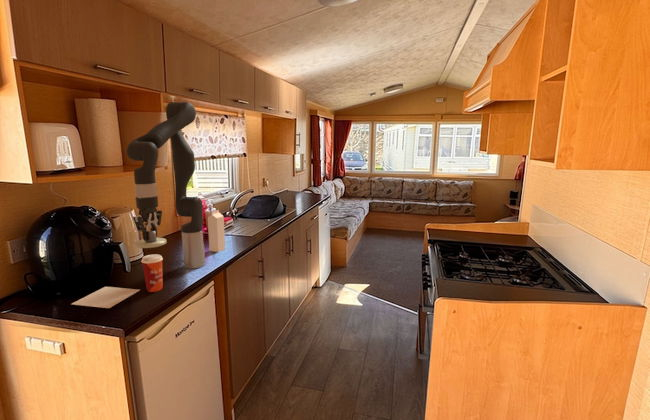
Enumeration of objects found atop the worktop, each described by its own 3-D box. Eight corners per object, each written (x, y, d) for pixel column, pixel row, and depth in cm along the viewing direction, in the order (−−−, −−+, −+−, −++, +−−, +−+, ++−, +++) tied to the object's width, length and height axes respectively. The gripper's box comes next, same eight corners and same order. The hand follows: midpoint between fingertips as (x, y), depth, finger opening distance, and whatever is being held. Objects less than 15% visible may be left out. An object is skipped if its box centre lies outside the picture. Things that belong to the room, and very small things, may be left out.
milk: (225, 249, 195) (223, 210, 190) (218, 252, 189) (216, 212, 185) (216, 248, 197) (214, 209, 193) (209, 251, 191) (207, 211, 187)
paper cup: (156, 295, 136) (152, 260, 133) (139, 293, 138) (136, 258, 135) (169, 287, 143) (167, 254, 141) (154, 285, 145) (151, 252, 143)
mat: (105, 287, 142) (105, 286, 142) (140, 291, 140) (140, 289, 139) (70, 305, 127) (70, 304, 127) (109, 309, 124) (109, 308, 124)
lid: (147, 239, 143) (146, 227, 142) (172, 240, 141) (171, 228, 140) (128, 247, 133) (127, 234, 132) (154, 248, 131) (153, 235, 130)
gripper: (150, 192, 141) (153, 233, 144) (124, 197, 127) (128, 243, 130) (167, 193, 140) (170, 234, 143) (142, 198, 126) (146, 244, 129)
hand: (150, 238), depth 137 cm, fingers closed on lid, 4 cm apart
